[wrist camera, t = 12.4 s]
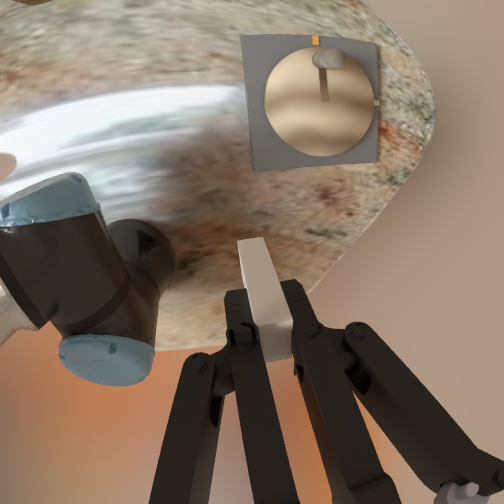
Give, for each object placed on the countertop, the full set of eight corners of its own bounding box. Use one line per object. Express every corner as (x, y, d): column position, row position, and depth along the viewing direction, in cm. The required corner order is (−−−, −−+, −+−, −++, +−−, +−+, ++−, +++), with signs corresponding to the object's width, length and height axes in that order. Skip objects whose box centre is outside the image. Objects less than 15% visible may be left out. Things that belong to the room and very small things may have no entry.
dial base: (371, 159, 42) (377, 163, 41) (253, 169, 41) (255, 172, 39) (371, 43, 31) (377, 43, 30) (240, 37, 30) (242, 35, 28)
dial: (368, 150, 39) (391, 162, 34) (269, 159, 38) (281, 173, 33) (365, 51, 30) (390, 49, 25) (257, 49, 29) (267, 41, 24)
